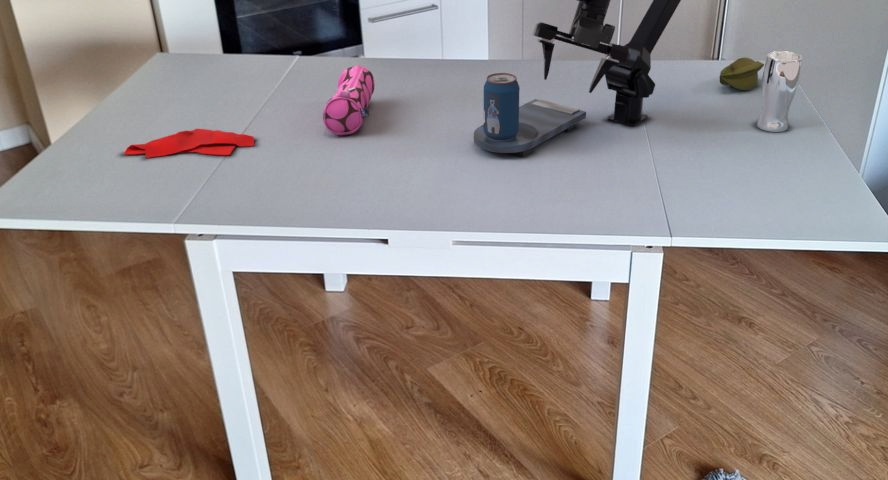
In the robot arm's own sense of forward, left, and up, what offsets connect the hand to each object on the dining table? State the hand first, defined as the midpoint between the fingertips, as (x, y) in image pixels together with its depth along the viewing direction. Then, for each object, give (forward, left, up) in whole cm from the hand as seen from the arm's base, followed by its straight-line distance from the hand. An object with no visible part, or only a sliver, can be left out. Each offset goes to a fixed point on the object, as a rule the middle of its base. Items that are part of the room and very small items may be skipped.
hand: (567, 86), depth 177 cm
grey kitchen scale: (+2, -8, -12) cm, 15 cm away
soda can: (+11, -8, -9) cm, 16 cm away
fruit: (-52, +14, -12) cm, 55 cm away
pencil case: (+16, -44, -12) cm, 49 cm away
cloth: (+46, -61, -12) cm, 78 cm away
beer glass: (-33, +30, -12) cm, 46 cm away
